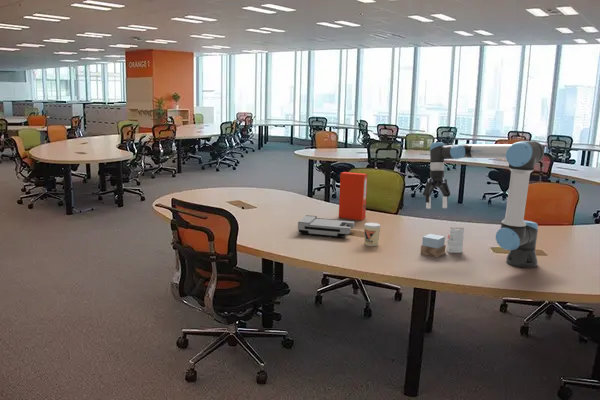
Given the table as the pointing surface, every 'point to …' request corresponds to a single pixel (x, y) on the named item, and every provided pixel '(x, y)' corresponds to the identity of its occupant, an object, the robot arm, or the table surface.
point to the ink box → (455, 240)
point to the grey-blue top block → (433, 241)
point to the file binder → (352, 195)
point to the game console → (325, 227)
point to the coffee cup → (371, 233)
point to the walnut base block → (433, 251)
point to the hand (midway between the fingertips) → (436, 208)
